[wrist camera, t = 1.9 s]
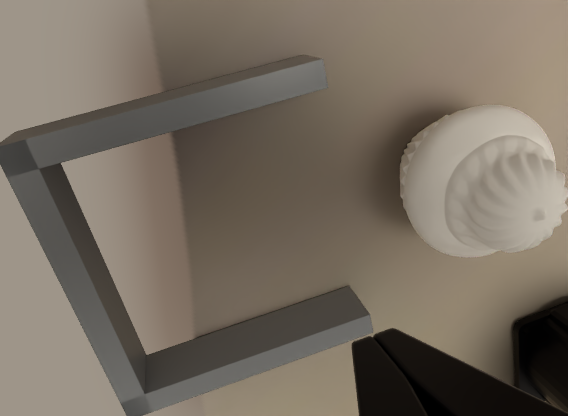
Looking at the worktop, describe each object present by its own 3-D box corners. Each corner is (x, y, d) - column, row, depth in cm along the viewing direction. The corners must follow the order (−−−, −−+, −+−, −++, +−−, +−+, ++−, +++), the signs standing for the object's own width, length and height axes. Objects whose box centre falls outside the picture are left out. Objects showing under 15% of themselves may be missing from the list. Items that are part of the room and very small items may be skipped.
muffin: (372, 235, 22) (458, 319, 16) (365, 105, 20) (462, 143, 13) (489, 208, 23) (613, 276, 17) (495, 82, 21) (642, 106, 14)
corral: (352, 302, 23) (373, 332, 21) (132, 379, 22) (129, 420, 19) (302, 54, 18) (323, 58, 16) (15, 131, 17) (-8, 148, 15)
